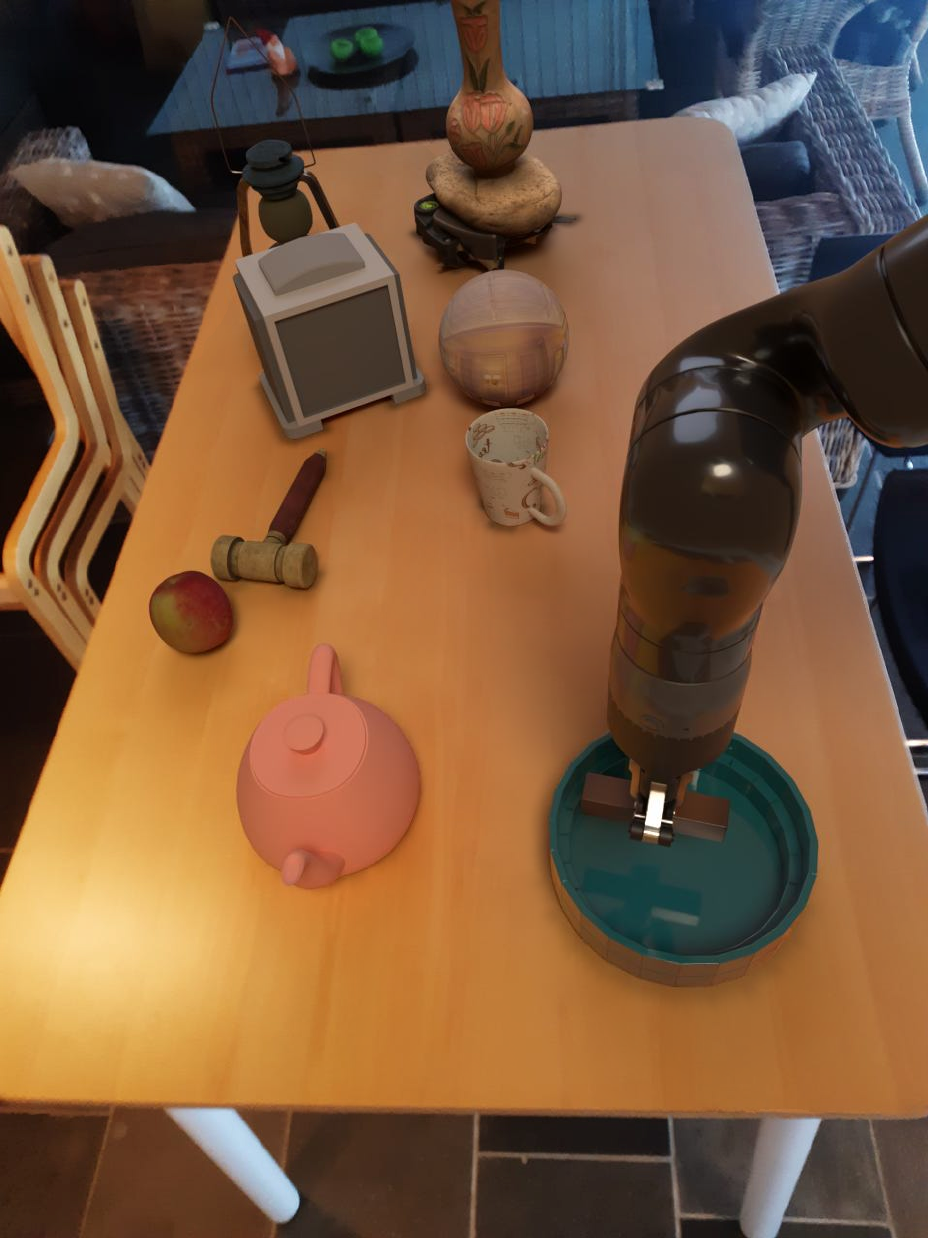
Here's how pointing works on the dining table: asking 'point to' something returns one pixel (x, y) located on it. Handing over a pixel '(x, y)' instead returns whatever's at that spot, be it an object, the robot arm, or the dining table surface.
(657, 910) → the bowl
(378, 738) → the teapot
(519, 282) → the ornament
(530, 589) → the dining table surface
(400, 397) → the alarm clock
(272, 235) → the lantern
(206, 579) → the apple
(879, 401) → the robot arm
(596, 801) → the stick
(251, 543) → the gavel
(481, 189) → the vase
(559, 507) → the mug
